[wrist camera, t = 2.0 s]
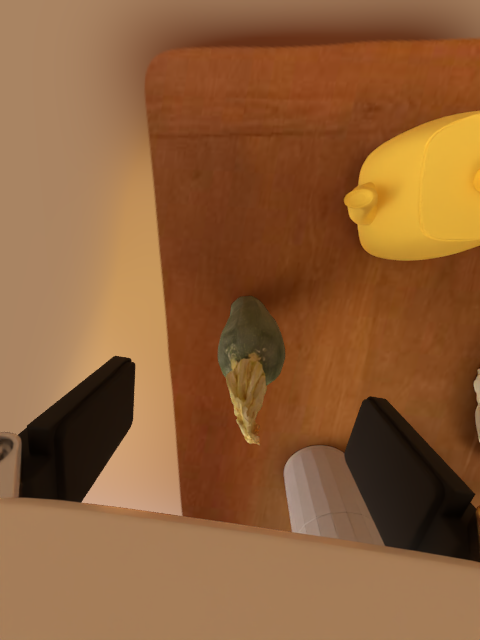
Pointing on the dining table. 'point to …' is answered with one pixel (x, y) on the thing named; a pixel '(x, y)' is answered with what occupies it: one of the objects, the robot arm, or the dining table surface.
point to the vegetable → (250, 359)
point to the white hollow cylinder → (326, 497)
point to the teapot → (421, 191)
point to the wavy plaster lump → (479, 413)
